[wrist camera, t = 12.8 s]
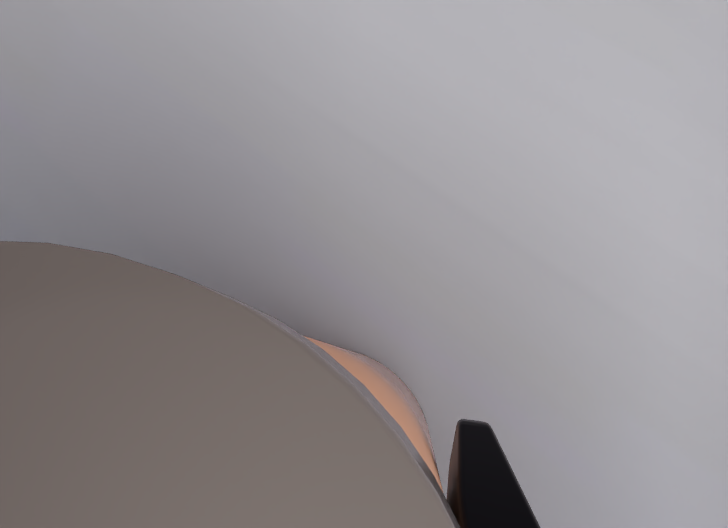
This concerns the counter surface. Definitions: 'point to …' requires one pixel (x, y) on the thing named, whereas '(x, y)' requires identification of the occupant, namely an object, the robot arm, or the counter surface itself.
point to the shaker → (191, 409)
